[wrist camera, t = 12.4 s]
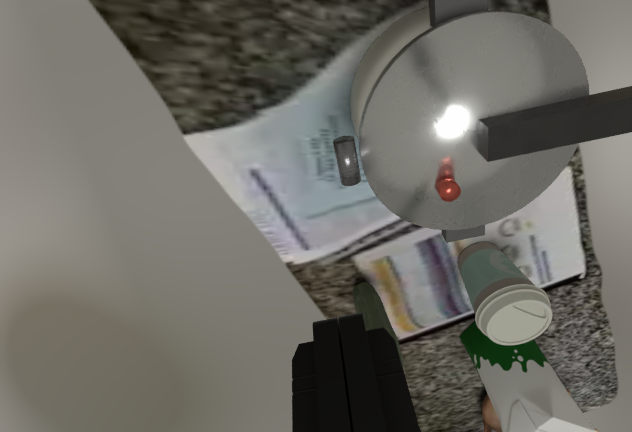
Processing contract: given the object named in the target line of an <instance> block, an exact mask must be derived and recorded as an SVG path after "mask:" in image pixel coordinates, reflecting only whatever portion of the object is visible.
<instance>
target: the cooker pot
mask: <svg viewBox="0 0 632 432" xmlns="http://www.w3.org/2000/svg"><path fill="white" fill-rule="evenodd" d="M480 11H488V0H429V7H428V8H425V9H422V10H418V11H415V12H413V13H411V14H409V15H407V16H405V17H403V18H401V19H400V20H398V21H396V22H395V23H393V24H392V25H391V26H390V27H388V28H387V29H386V30H385V31H383V32H382V33H381V34H380V36H379V37H378V38H377V39H376V40H375V41H374V42H373V43H372V45H371V46H370V47H369V49H368V50H367V51H366V53H365V55H364V56H363V58H362V60H361V62H360V64H359V66H358V68H357V71H356V73H355V76H354V80H353V83H352V89H351V95H350V111H351V118H352V123H353V127H354V129H355V132H356V135H357V137H358V140H359V128H360V122H361V117H362V113H363V109H364V106H365V103H366V100H367V98H368V96H369V94H370V91H371V89H372V87H373V85H374V84H375V82H376V80H377V79H378V77H379V75H380V74H381V72H382V71H383V70H384V68H385V67H386V66H387V65H388V63H389V62H390V61H391V59H392V58H393V57H394V56H395V55H396V54H397V53H398V52H399V51H400V50H401V49H402V48H403V47H404V46H406V45H407V44H408V43H409V42H411V41H412V40H413V39H414V38H416V37H417V36H418V35H420V34H422V33H423V32H425V31H426V30H428V29H430V28H431V27H433V26H435V25H437V24H439V23H442V22H444V21H446V20H448V19H451V18H454V17H457V16H461V15H464V14H468V13H474V12H480ZM442 235H443V237H444V239H445V241H446V242H452V241H457V240H462V239H467V238H472V237H477V236H482V235H485V225H482V226H478V227H474V228H468V229H461V230H442Z"/></svg>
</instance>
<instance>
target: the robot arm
mask: <svg viewBox="0 0 632 432" xmlns="http://www.w3.org/2000/svg"><path fill="white" fill-rule="evenodd" d="M313 336H314V337H313V338H314V341H312V342H307V343H302V344H299V345H298V347H297V350H296V352H295V355H294V357H293V359H292V378H293V381H292V392H293V396H292V409H293V410H292V411H293V412H292V414H293V416H292V417H293V418H292V420H293V432H421V431H420V428H419V425H418V422H417V418H416V414H415V411H414V407H413V404H412V400H411V396H410V393H409V389H408V385H407V382H406V378H405V375H404V371H403V367H402V364H401V360H400V356H399V353H398V349H397V346H396V342H395V340H394V338H393V337H392V336H391V335H390V334H389V333H388V331H387V330H386V329H385V328H384V327H383V328H377V329H372V330H367V331H366V326H365V322H364V318H363V313H357V314H352V315H347V316H342V317H339V322H338V319H337V318H332V319H327V320H322V321H317V322H313Z"/></svg>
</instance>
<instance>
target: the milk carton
mask: <svg viewBox="0 0 632 432" xmlns="http://www.w3.org/2000/svg"><path fill="white" fill-rule="evenodd" d="M460 338H461V340H462V342H463V344H464V346H465V348H466V350H467V352H468V354H469V356H470V358H471V359H472V361H473V363H474V365H475V367H476V370H477V372H478V374H479V376H480V378H481V381H482V383H483V385H484V387H485V389H486V392H487V394H488V396H489V398H490V400H491V403H492V405H493V407H494V409H495V412H496V414H497V416H498V418H499V421H500V425H501V429H502V432H597V431H596V430H595V429H594V427H593V426H592V425H591V423H590V422H589V421H588V420H587V418H586V417H585V415H584V414H583V413H582V411H581V410H580V409H579V407H578V406H577V405H576V403H575V402H574V400H573V399H572V398H571V396H570V395H569V393H568V392H567V390H566V389H565V387H564V386H563V384H562V383H561V381H560V379H559V378H558V376H557V375H556V373H555V372H554V370H553V369H552V367H551V365H550V364H549V362H548V361H547V359H546V358H545V356H544V355H543V353H542V352H541V350H540V348H539V347H538V345H537V344H536V342H535V341H534V339H533V340H531V341H528V342H526V343H522V344H518V345H501V344H497V343H495V342H493V341H492V340H491V339H490V338H489V337H488V336H486V335H485V334H483V333H482V331H481V330H480V329H479V328H478V326H477V324H476V321H474V322H473V323H472V324H471V325H470V326H469V327H468V328H467V329H466V330H465V331H464V332H463V333H462V334H461V335H460Z"/></svg>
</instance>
